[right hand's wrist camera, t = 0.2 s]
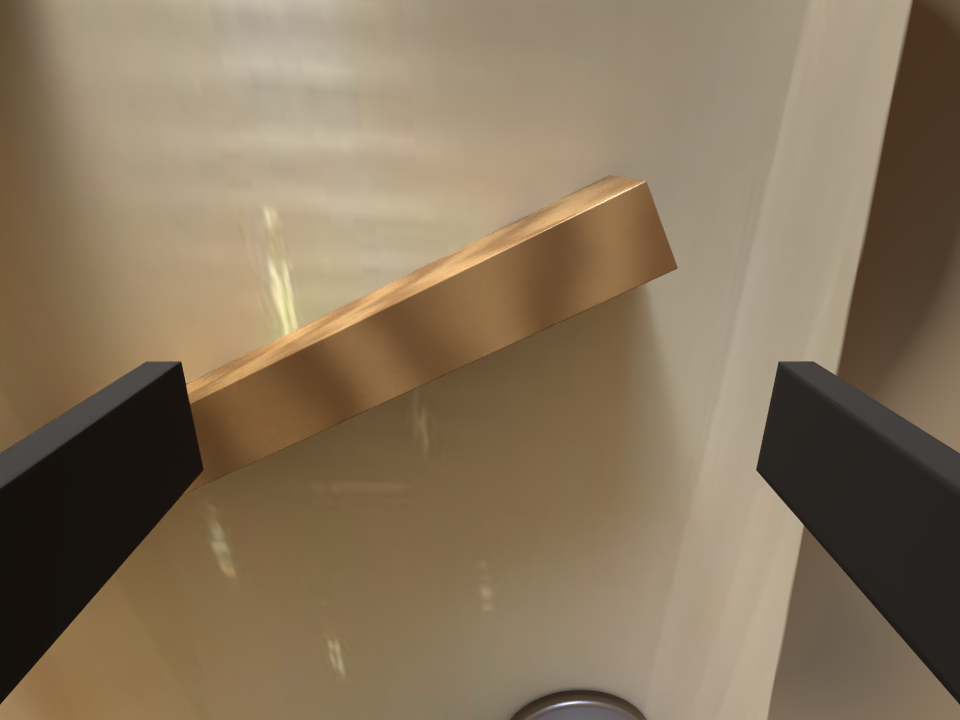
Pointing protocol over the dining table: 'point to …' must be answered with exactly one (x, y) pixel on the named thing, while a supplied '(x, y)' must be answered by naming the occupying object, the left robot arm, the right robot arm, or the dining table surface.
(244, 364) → the beam
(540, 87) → the dining table surface
